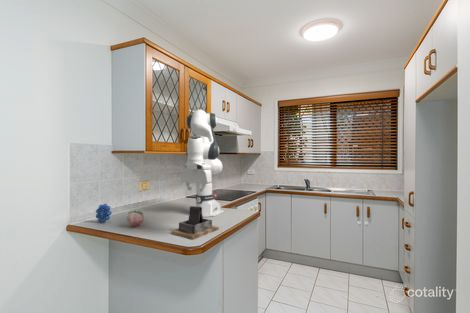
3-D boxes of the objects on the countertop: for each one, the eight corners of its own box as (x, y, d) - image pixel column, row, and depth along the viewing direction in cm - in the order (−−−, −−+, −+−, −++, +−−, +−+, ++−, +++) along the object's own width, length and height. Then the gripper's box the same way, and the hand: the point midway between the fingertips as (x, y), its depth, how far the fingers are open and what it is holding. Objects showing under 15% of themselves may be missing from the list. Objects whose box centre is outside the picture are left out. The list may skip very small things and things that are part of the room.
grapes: (116, 221, 153) (116, 202, 153) (108, 224, 147) (107, 204, 147) (101, 220, 157) (101, 201, 157) (92, 223, 150) (92, 203, 150)
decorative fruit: (146, 224, 147) (146, 207, 147) (141, 228, 139) (141, 210, 139) (130, 224, 147) (130, 207, 147) (124, 228, 139) (124, 211, 139)
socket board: (197, 224, 145) (197, 215, 145) (218, 229, 136) (218, 219, 136) (171, 233, 129) (171, 223, 129) (193, 239, 120) (193, 228, 120)
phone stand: (194, 226, 138) (194, 204, 138) (204, 226, 136) (204, 205, 136) (186, 230, 129) (186, 208, 129) (197, 231, 128) (196, 208, 128)
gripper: (178, 165, 136) (178, 190, 136) (205, 166, 124) (205, 193, 124) (186, 164, 141) (186, 188, 141) (213, 165, 129) (213, 191, 129)
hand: (195, 191), depth 133 cm, fingers open, 8 cm apart
